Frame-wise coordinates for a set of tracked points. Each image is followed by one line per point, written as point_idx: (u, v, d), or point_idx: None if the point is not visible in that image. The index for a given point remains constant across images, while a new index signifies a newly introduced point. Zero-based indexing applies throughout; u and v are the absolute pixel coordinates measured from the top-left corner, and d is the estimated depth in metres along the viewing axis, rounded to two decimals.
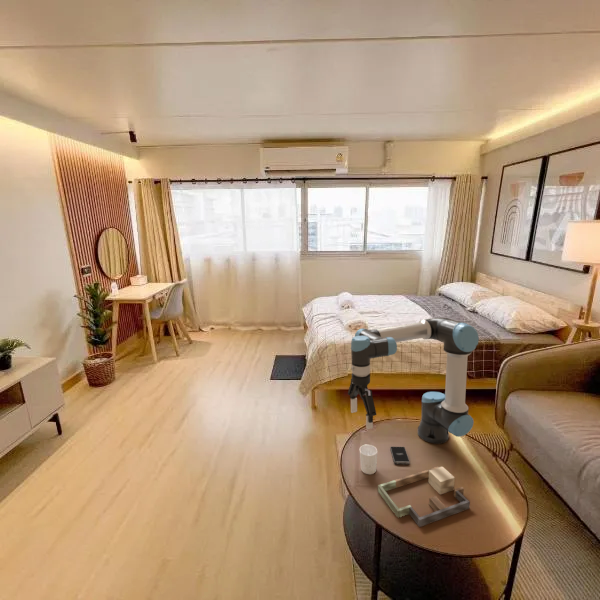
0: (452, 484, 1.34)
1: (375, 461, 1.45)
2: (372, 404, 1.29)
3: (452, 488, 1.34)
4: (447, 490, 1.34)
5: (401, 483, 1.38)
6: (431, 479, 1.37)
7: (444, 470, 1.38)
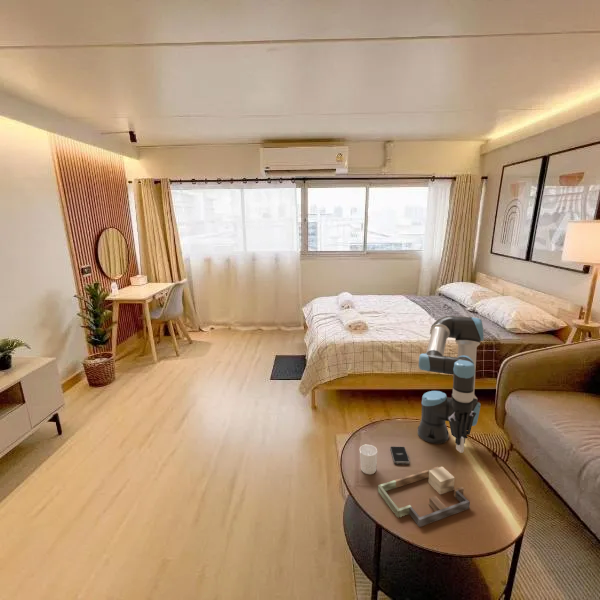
0: (452, 484, 1.34)
1: (375, 461, 1.45)
2: (453, 429, 1.33)
3: (452, 488, 1.34)
4: (447, 490, 1.34)
5: (401, 483, 1.38)
6: (431, 479, 1.37)
7: (444, 470, 1.38)
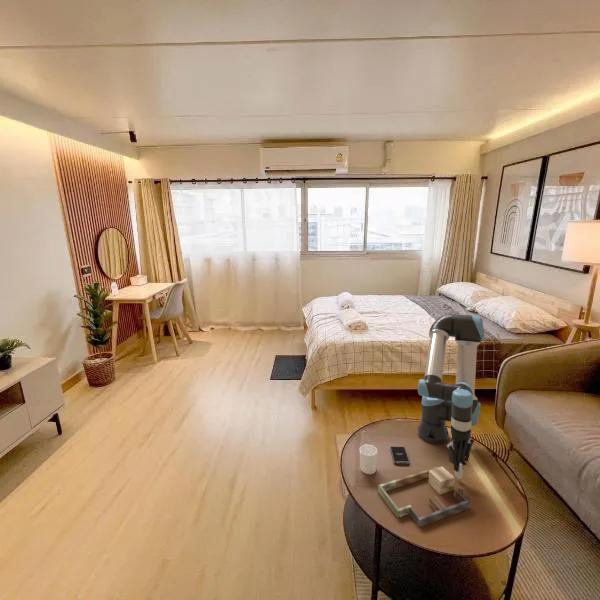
0: (452, 484, 1.34)
1: (375, 461, 1.45)
2: (451, 456, 1.35)
3: (452, 488, 1.34)
4: (447, 490, 1.34)
5: (401, 483, 1.38)
6: (431, 479, 1.37)
7: (444, 470, 1.38)
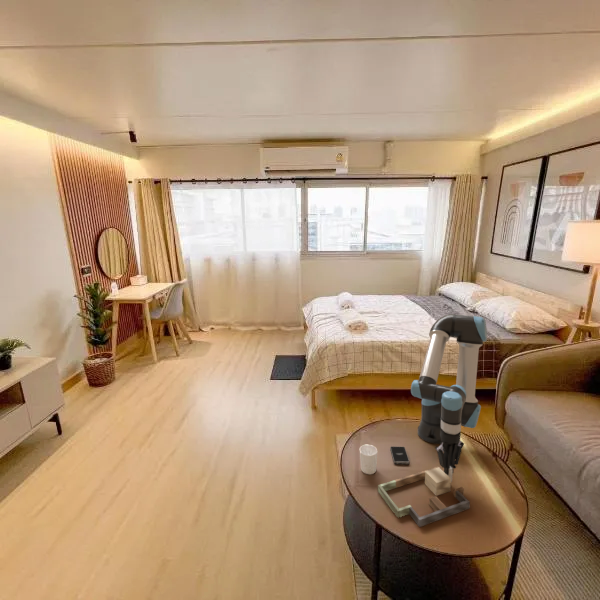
0: (448, 485, 1.33)
1: (375, 461, 1.45)
2: (441, 459, 1.34)
3: (448, 489, 1.34)
4: (443, 491, 1.33)
5: (401, 483, 1.38)
6: (427, 480, 1.37)
7: (440, 471, 1.37)
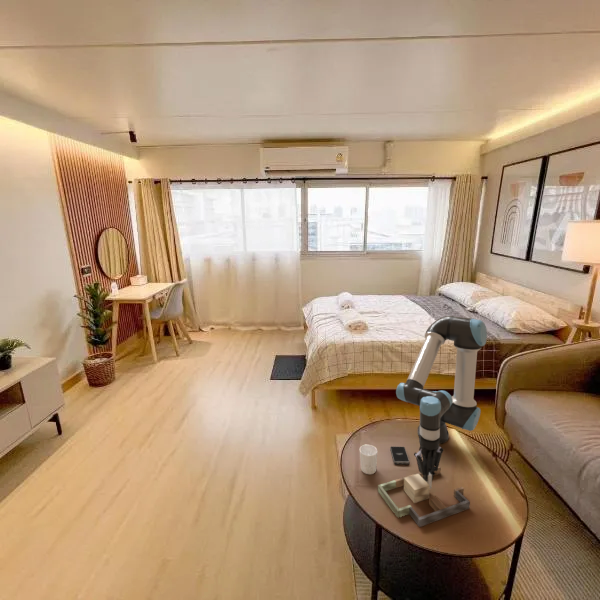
0: (427, 492, 1.30)
1: (375, 461, 1.45)
2: (420, 466, 1.30)
3: (427, 496, 1.31)
4: (422, 498, 1.30)
5: (401, 483, 1.38)
6: (406, 487, 1.34)
7: (420, 477, 1.34)
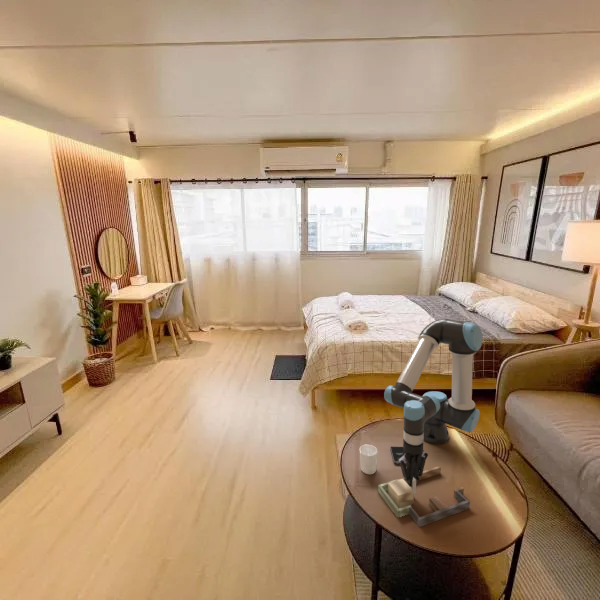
0: (411, 498, 1.28)
1: (375, 461, 1.45)
2: (403, 471, 1.28)
3: (411, 502, 1.28)
4: (406, 504, 1.28)
5: None
6: (390, 492, 1.31)
7: (404, 483, 1.32)
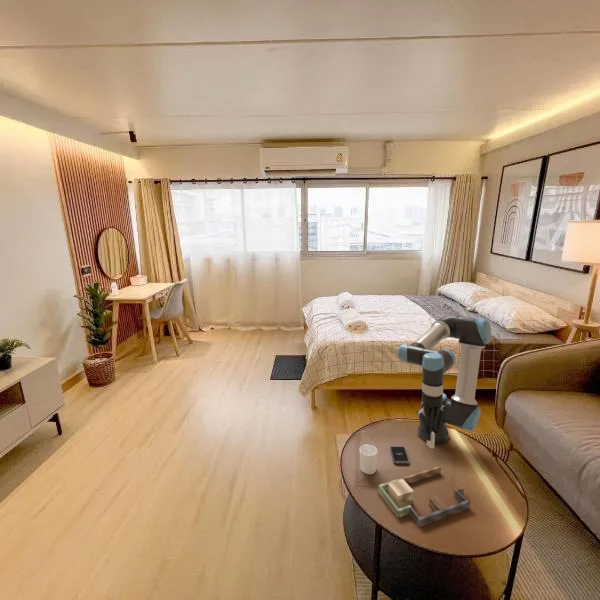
0: (411, 498, 1.28)
1: (375, 461, 1.45)
2: (422, 424, 1.27)
3: (411, 502, 1.28)
4: (406, 504, 1.28)
5: None
6: (390, 493, 1.31)
7: (404, 483, 1.32)
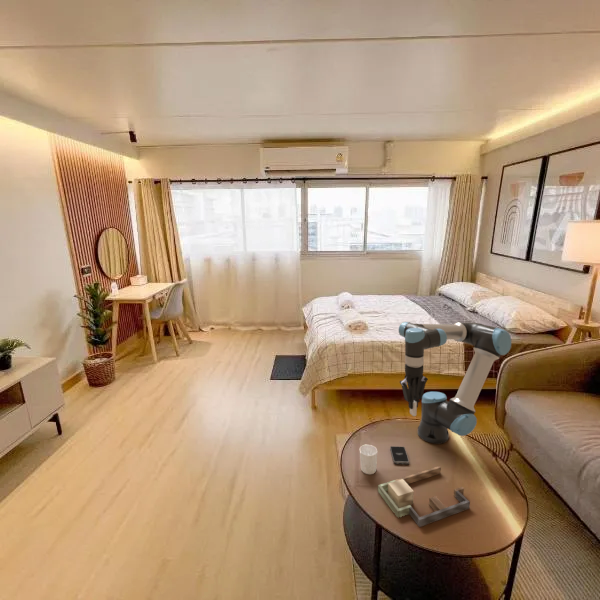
0: (411, 498, 1.28)
1: (375, 461, 1.45)
2: (405, 393, 1.40)
3: (411, 502, 1.28)
4: (406, 504, 1.28)
5: None
6: (390, 493, 1.31)
7: (404, 483, 1.32)
